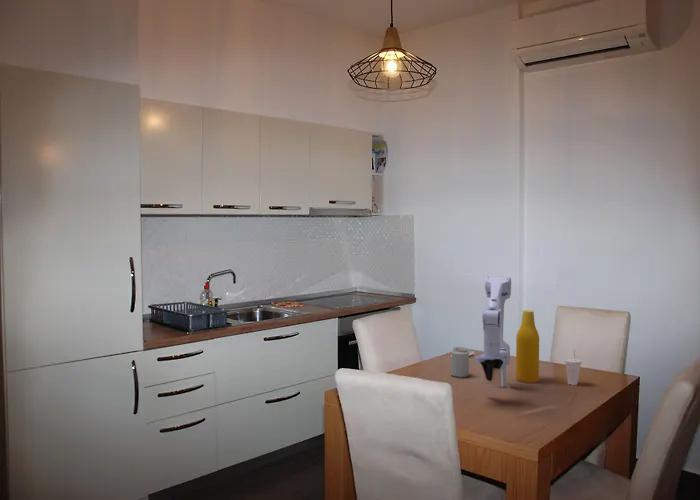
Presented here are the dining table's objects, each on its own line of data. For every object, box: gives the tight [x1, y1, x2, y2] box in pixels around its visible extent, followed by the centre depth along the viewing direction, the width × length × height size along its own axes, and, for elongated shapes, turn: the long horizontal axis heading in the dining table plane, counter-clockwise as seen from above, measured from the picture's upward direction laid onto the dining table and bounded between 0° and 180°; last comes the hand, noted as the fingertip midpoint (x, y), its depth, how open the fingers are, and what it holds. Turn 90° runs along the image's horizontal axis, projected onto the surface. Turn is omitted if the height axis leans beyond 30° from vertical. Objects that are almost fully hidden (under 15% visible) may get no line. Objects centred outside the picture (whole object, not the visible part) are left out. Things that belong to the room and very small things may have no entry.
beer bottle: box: [515, 310, 540, 384], centre depth 239 cm, size 9×9×29 cm
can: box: [450, 346, 470, 379], centre depth 246 cm, size 8×8×12 cm
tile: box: [481, 366, 504, 388], centre depth 210 cm, size 9×2×6 cm, turn 28°
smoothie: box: [564, 349, 582, 386], centre depth 234 cm, size 6×6×14 cm
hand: (491, 379), depth 210 cm, fingers closed on tile, 2 cm apart
